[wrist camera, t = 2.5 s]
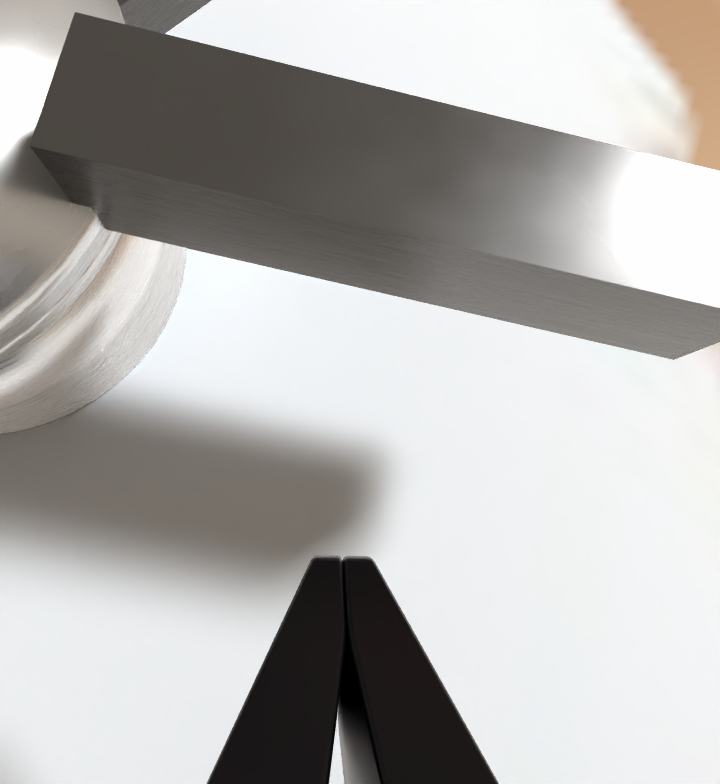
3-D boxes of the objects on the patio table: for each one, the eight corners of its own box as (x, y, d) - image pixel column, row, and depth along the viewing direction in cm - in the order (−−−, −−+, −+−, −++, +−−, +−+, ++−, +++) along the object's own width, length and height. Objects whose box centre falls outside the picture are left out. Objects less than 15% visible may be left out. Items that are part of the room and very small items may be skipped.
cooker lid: (-652, 330, 12) (-1004, 266, 9) (-360, -209, 14) (-547, -411, 11) (641, 597, 13) (750, 626, 10) (701, 64, 16) (802, -47, 12)
